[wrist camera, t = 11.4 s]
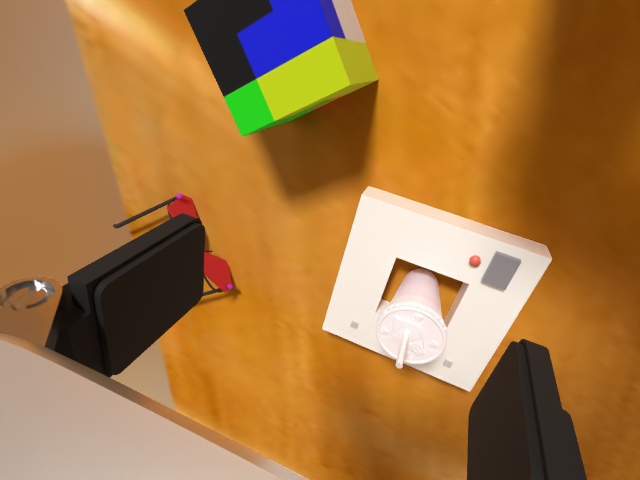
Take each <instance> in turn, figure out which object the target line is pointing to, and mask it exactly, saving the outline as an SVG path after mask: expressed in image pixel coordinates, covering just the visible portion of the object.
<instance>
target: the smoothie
mask: <svg viewBox="0 0 640 480" xmlns="http://www.w3.org/2000/svg"><path fill="white" fill-rule="evenodd" d="M447 337H448V332H447V327H446V325H445V323H444V321H443V319H442V312H441V303H440V295H439V287H438V281H437V278H436V277H435V275H434V274H433V273H431V272H430V271H428V270H425V269H414V270H412V271H410V272H409V273H408V274H407V275H406V276H405V278H404V280H403V282H402V283H401V285H400V287H399V288H398V290H397V292H396V294H395V295H394V297H393V299H392V301H391V302H390V304H389V306H388V307H386V308H385V309H384V310H383V311H382V312H381V313H380V315H379V317H378V320H377V325H376V338H377V340H378V343H379V344H380V346H381V347H382V349H383V350H384V351H385V352H386V353H387V354H388V355H390V356H391V357H393V358H395V359H396V360H397V361H396V367H397V368H402V367H403V362H404V363H408V364H425V363H429V362H432V361H434V360H435V359H437V358H438V357H439V356H440V355H441V354H442V353H443V351H444V350H445V347H446V343H447Z"/></svg>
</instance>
